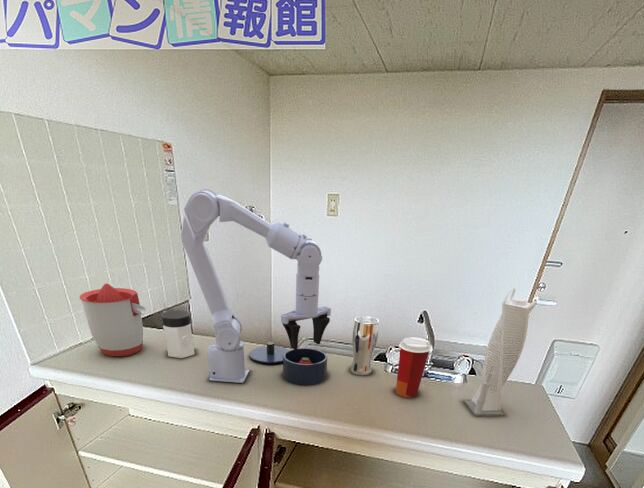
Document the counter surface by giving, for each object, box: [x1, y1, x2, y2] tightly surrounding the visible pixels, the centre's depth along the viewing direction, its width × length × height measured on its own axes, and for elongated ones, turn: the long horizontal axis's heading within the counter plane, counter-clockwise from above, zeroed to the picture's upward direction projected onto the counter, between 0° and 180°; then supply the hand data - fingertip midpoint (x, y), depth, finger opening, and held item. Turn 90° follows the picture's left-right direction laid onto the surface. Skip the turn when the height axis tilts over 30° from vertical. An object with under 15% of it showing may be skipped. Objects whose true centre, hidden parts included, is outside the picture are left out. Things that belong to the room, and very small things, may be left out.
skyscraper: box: [463, 287, 537, 417], centre depth 94 cm, size 8×8×28 cm
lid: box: [248, 341, 290, 364], centre depth 124 cm, size 13×13×4 cm
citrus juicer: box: [79, 282, 147, 357], centre depth 121 cm, size 16×17×20 cm
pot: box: [282, 347, 328, 386], centre depth 113 cm, size 12×12×6 cm
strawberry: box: [299, 357, 312, 364], centre depth 113 cm, size 4×4×5 cm
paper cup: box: [395, 336, 432, 398], centre depth 103 cm, size 8×8×14 cm
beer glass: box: [350, 315, 380, 376], centre depth 114 cm, size 7×7×15 cm
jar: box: [161, 310, 195, 359], centre depth 122 cm, size 9×8×12 cm
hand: (305, 345), depth 109 cm, fingers open, 7 cm apart
